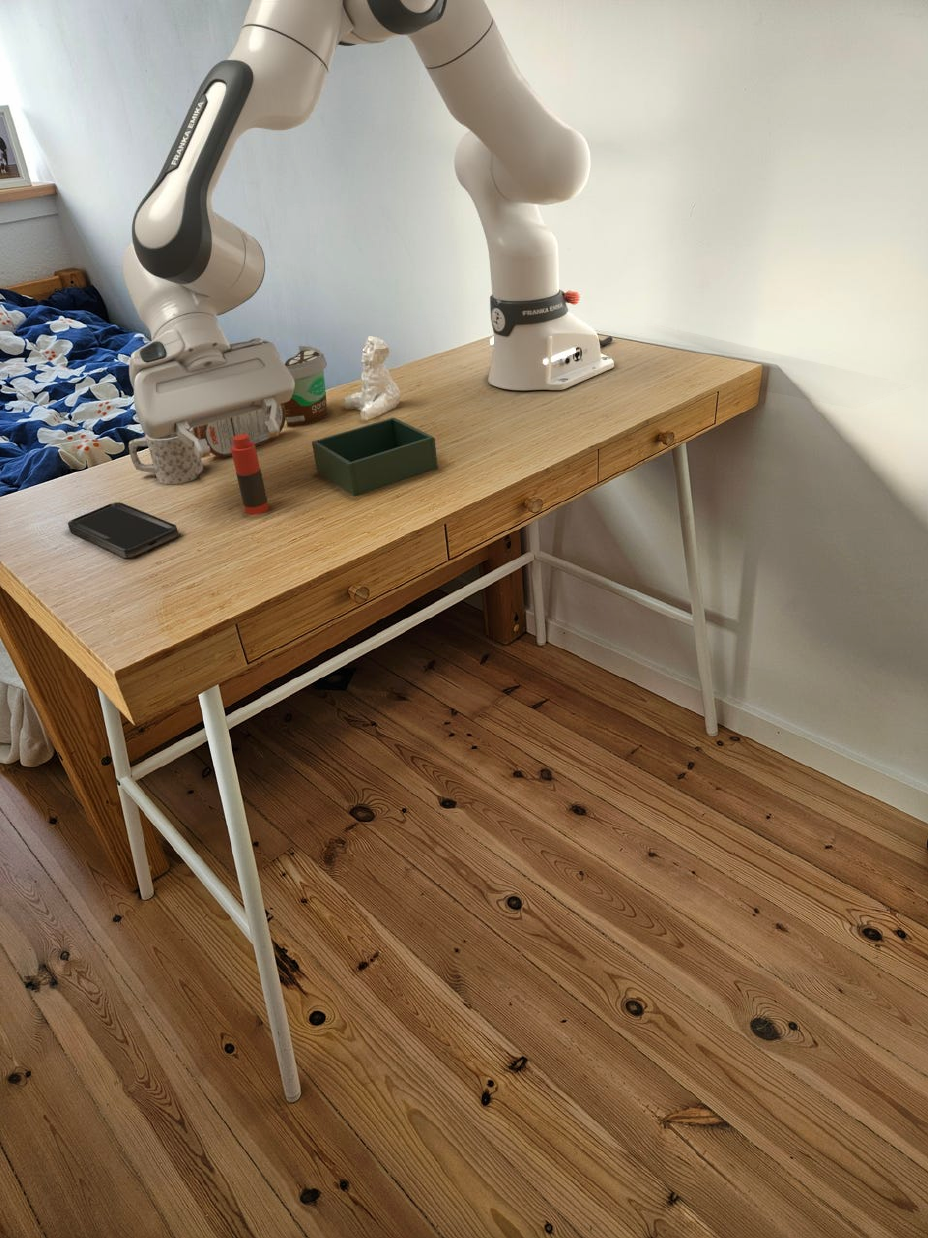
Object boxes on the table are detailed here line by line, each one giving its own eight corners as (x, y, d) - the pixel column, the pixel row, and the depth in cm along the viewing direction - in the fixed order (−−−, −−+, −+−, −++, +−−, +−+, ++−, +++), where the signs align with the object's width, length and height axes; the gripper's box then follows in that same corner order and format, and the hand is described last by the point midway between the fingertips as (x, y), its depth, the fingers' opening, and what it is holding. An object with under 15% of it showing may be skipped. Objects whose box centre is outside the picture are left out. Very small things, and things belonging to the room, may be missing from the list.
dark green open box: (397, 449, 132) (393, 416, 129) (438, 471, 124) (434, 437, 121) (317, 475, 126) (311, 441, 124) (354, 499, 118) (348, 464, 116)
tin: (282, 430, 143) (271, 378, 139) (293, 434, 141) (283, 382, 137) (199, 461, 135) (185, 407, 130) (210, 466, 133) (196, 411, 128)
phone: (117, 500, 121) (179, 526, 113) (119, 508, 122) (182, 534, 113) (63, 523, 117) (124, 552, 108) (66, 531, 117) (127, 560, 108)
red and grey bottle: (264, 505, 119) (247, 430, 114) (273, 512, 117) (256, 436, 111) (242, 512, 118) (224, 436, 112) (251, 520, 116) (233, 443, 110)
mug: (209, 464, 133) (198, 421, 130) (195, 483, 128) (183, 438, 124) (145, 468, 134) (133, 425, 131) (128, 486, 129) (115, 442, 125)
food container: (320, 429, 142) (309, 367, 137) (284, 429, 143) (271, 368, 138) (344, 403, 152) (335, 344, 147) (310, 403, 153) (300, 344, 148)
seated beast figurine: (342, 408, 150) (330, 336, 143) (388, 396, 153) (379, 325, 147) (365, 423, 143) (354, 348, 136) (413, 410, 146) (404, 336, 140)
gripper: (266, 348, 123) (309, 434, 121) (118, 385, 114) (162, 478, 112) (272, 321, 117) (318, 410, 115) (117, 357, 108) (164, 455, 107)
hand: (240, 444), depth 114 cm, fingers open, 8 cm apart
